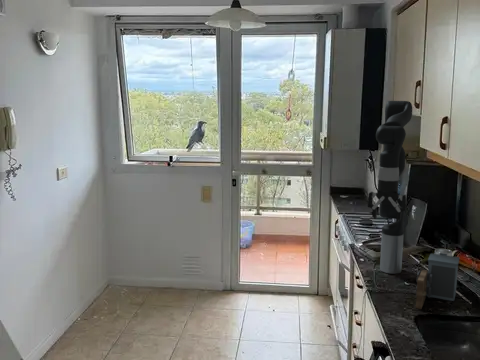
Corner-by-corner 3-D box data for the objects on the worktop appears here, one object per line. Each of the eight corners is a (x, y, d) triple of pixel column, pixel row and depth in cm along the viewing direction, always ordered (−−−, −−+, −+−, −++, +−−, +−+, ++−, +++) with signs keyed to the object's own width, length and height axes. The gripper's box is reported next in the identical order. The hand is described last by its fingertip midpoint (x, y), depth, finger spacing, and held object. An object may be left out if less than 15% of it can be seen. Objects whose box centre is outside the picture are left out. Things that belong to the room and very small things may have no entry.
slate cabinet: (419, 287, 199) (421, 252, 197) (456, 293, 193) (459, 257, 190) (415, 297, 189) (417, 260, 186) (454, 304, 183) (457, 266, 180)
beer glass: (451, 285, 202) (454, 250, 199) (448, 290, 196) (450, 254, 194) (434, 281, 206) (436, 247, 203) (430, 286, 200) (432, 251, 197)
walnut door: (420, 296, 190) (422, 269, 188) (429, 298, 189) (431, 271, 187) (415, 308, 180) (417, 279, 178) (425, 310, 178) (427, 281, 176)
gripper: (409, 178, 186) (406, 219, 188) (371, 175, 192) (369, 215, 195) (406, 181, 179) (403, 224, 182) (367, 178, 186) (365, 219, 188)
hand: (386, 219), depth 188 cm, fingers open, 8 cm apart
